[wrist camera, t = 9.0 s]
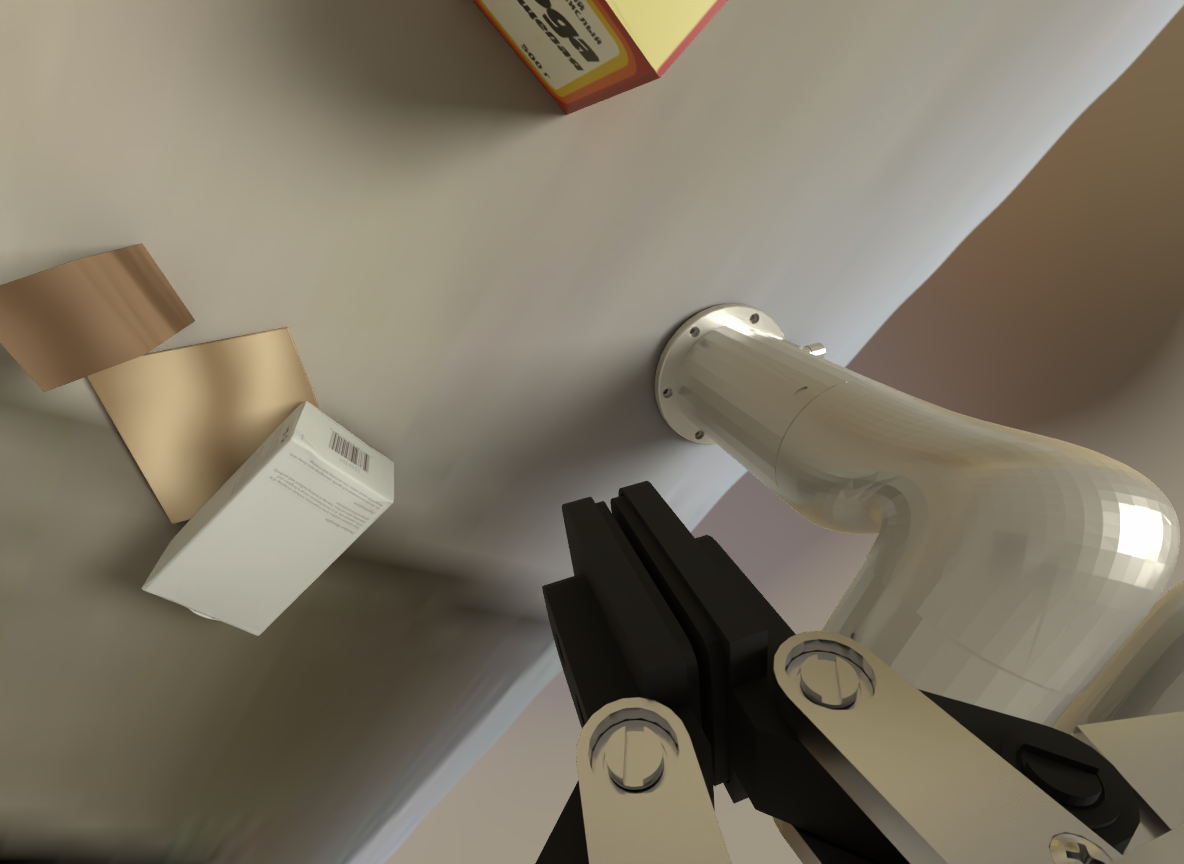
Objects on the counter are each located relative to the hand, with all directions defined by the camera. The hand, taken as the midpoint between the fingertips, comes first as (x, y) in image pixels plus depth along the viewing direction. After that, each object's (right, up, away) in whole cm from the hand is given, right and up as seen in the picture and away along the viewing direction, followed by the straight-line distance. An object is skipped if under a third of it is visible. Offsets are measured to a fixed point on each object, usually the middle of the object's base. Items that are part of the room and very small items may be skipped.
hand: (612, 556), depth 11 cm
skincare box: (-17, +1, +28) cm, 33 cm away
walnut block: (-29, +11, +24) cm, 39 cm away
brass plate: (-26, +3, +28) cm, 38 cm away
